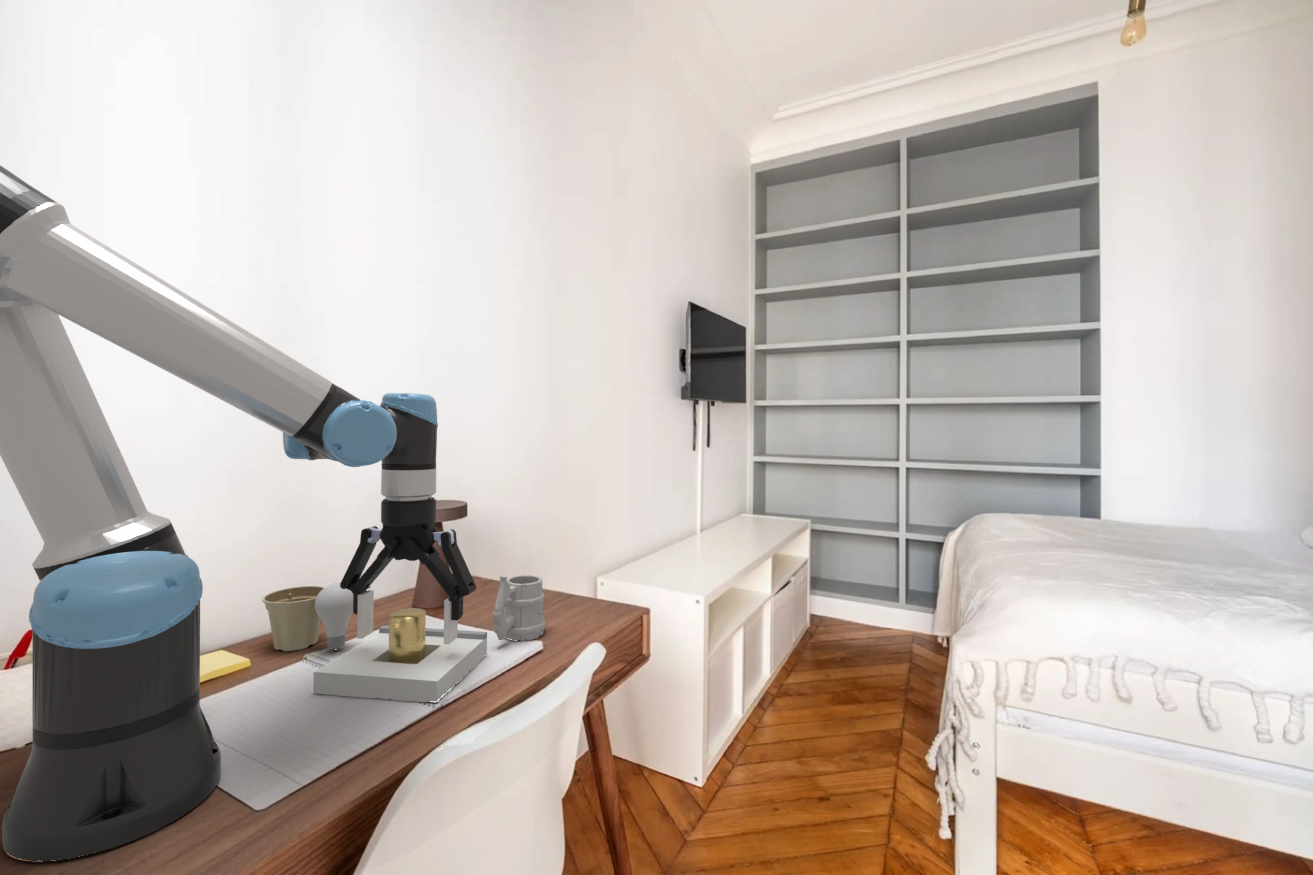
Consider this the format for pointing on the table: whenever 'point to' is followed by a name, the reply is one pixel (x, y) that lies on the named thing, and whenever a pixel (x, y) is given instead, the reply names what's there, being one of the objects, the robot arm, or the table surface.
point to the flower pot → (293, 617)
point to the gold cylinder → (407, 636)
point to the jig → (401, 668)
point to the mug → (519, 608)
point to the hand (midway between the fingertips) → (407, 638)
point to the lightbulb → (334, 613)
